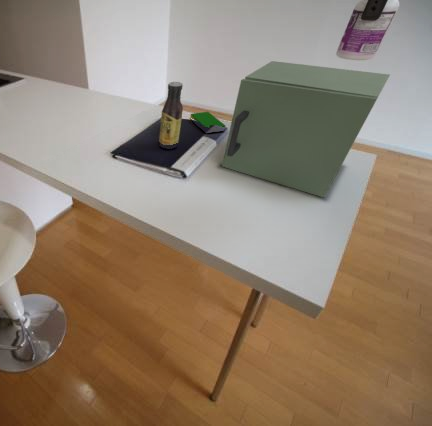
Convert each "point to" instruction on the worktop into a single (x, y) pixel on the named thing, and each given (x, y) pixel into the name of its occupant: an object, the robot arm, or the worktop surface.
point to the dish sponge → (206, 119)
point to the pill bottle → (365, 32)
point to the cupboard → (321, 78)
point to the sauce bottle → (171, 115)
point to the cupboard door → (293, 133)
